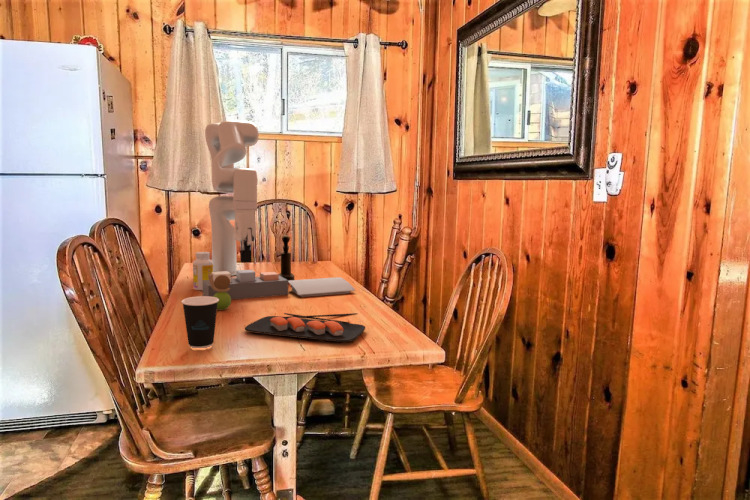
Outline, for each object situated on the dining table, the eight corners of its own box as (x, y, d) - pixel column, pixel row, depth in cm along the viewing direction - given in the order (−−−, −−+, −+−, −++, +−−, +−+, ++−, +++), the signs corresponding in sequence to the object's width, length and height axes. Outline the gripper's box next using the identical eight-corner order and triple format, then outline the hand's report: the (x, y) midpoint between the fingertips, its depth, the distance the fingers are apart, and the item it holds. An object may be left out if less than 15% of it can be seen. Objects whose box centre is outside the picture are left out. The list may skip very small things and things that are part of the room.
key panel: (202, 295, 167) (202, 280, 166) (278, 289, 179) (278, 275, 179) (208, 301, 158) (208, 285, 157) (288, 294, 171) (288, 280, 170)
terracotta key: (260, 284, 173) (260, 272, 173) (274, 283, 175) (274, 271, 175) (264, 286, 169) (264, 275, 168) (278, 285, 171) (278, 274, 171)
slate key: (236, 282, 169) (236, 270, 169) (251, 281, 172) (251, 269, 171) (240, 285, 165) (240, 273, 164) (255, 284, 167) (255, 272, 167)
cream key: (211, 284, 165) (211, 272, 165) (227, 282, 168) (227, 271, 167) (215, 286, 161) (214, 274, 160) (230, 285, 163) (230, 273, 163)
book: (281, 290, 179) (281, 280, 178) (341, 286, 189) (341, 276, 189) (294, 299, 165) (294, 288, 165) (358, 294, 176) (358, 283, 175)
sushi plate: (239, 336, 125) (239, 321, 124) (291, 308, 154) (291, 296, 153) (351, 349, 117) (351, 333, 117) (383, 317, 146) (383, 304, 146)
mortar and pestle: (282, 279, 198) (282, 233, 196) (297, 280, 196) (297, 234, 194) (274, 282, 192) (273, 235, 190) (289, 283, 190) (289, 236, 187)
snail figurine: (209, 308, 150) (208, 268, 148) (231, 307, 152) (231, 267, 150) (207, 312, 145) (207, 271, 143) (231, 311, 146) (230, 271, 145)
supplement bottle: (216, 287, 179) (216, 251, 178) (208, 291, 173) (208, 254, 171) (198, 286, 180) (197, 251, 178) (190, 290, 173) (189, 253, 172)
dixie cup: (205, 339, 120) (205, 294, 118) (226, 346, 115) (226, 299, 114) (175, 347, 113) (174, 300, 112) (196, 355, 109) (195, 305, 107)
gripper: (228, 205, 170) (229, 259, 172) (239, 207, 157) (240, 265, 159) (250, 206, 173) (251, 258, 175) (263, 207, 160) (263, 264, 162)
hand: (246, 262), depth 167 cm, fingers closed
